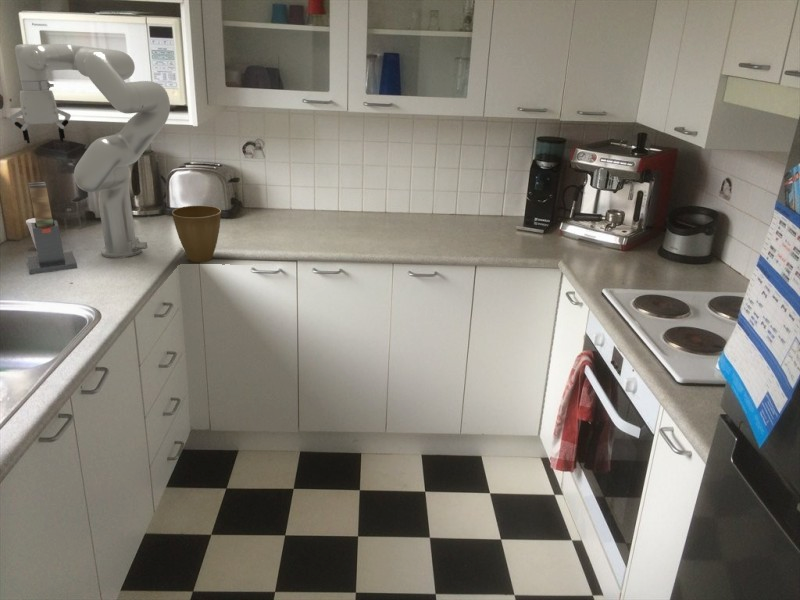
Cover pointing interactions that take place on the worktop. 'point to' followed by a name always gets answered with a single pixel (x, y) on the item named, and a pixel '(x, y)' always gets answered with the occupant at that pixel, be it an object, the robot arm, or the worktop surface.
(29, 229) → the smoothie
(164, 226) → the worktop surface
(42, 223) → the column
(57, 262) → the stand
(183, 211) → the plant pot
